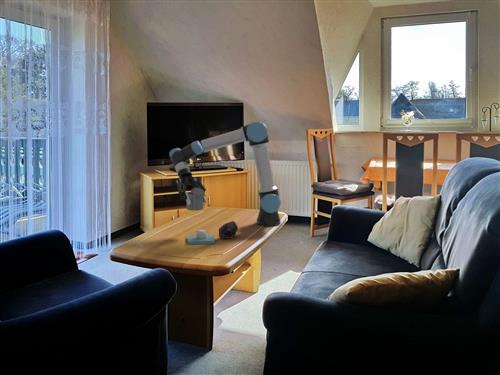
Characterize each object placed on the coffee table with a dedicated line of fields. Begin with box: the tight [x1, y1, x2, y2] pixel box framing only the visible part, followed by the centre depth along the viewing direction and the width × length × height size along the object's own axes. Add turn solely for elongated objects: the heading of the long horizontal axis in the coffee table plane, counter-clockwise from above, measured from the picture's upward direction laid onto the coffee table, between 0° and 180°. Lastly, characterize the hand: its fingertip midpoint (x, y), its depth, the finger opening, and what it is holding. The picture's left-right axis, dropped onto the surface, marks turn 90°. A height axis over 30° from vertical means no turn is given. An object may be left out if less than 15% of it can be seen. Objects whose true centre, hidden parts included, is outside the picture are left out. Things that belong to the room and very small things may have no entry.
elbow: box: [185, 187, 204, 212], centre depth 246 cm, size 11×9×12 cm
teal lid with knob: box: [187, 229, 215, 245], centre depth 237 cm, size 14×12×6 cm
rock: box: [218, 220, 239, 240], centre depth 244 cm, size 12×9×10 cm
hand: (197, 203), depth 244 cm, fingers closed on elbow, 9 cm apart
